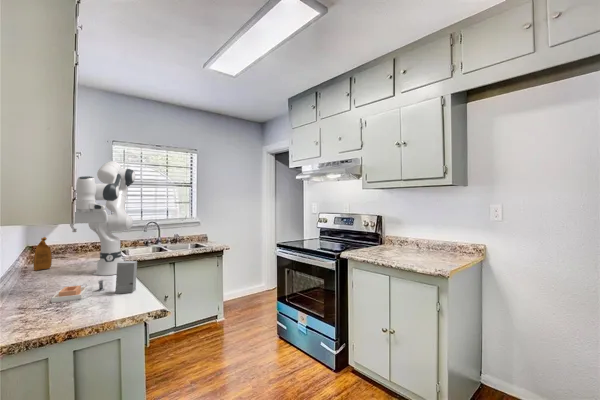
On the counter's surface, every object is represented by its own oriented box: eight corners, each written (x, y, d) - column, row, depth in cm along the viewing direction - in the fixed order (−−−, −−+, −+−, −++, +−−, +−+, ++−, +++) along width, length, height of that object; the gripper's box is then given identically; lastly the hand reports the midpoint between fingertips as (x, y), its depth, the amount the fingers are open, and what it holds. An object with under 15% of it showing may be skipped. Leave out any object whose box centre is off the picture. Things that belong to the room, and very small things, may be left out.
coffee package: (53, 266, 218) (53, 236, 218) (50, 269, 207) (51, 238, 208) (35, 268, 212) (35, 237, 212) (31, 271, 202) (32, 239, 202)
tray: (60, 293, 153) (60, 289, 153) (87, 290, 158) (87, 286, 158) (51, 302, 139) (51, 298, 139) (81, 299, 144) (81, 294, 144)
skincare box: (115, 294, 152) (115, 263, 153) (119, 290, 159) (119, 260, 159) (133, 292, 155) (133, 262, 155) (137, 289, 161) (137, 259, 162)
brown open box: (75, 298, 144) (75, 290, 144) (58, 299, 141) (58, 292, 141) (81, 291, 155) (81, 284, 155) (66, 292, 152) (66, 285, 152)
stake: (98, 289, 160) (98, 280, 160) (104, 289, 161) (104, 280, 161) (96, 291, 156) (96, 282, 156) (103, 291, 157) (103, 281, 157)
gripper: (59, 206, 153) (59, 233, 153) (107, 206, 162) (106, 231, 162) (63, 206, 159) (62, 232, 158) (108, 206, 168) (108, 230, 168)
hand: (85, 231), depth 160 cm, fingers open, 8 cm apart
